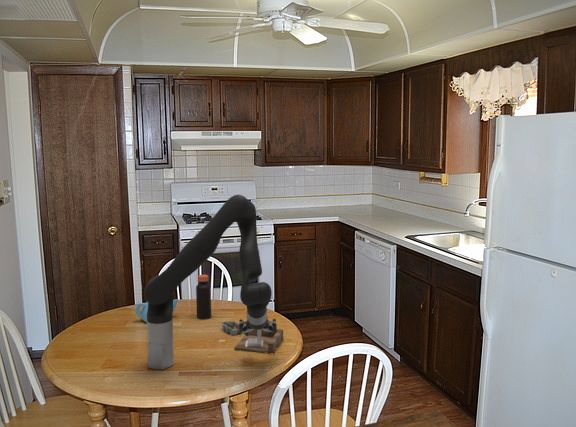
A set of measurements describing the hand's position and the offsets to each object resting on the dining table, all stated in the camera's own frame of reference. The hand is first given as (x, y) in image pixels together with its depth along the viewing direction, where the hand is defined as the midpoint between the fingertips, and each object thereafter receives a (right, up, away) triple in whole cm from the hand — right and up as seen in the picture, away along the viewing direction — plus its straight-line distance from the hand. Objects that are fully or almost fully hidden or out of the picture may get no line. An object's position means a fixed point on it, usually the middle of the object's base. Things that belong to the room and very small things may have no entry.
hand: (258, 333), depth 202 cm
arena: (0, -7, +11) cm, 13 cm away
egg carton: (-13, -5, +26) cm, 29 cm away
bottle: (-28, -2, +44) cm, 52 cm away
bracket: (-2, -6, +8) cm, 10 cm away
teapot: (-49, -3, +41) cm, 64 cm away
